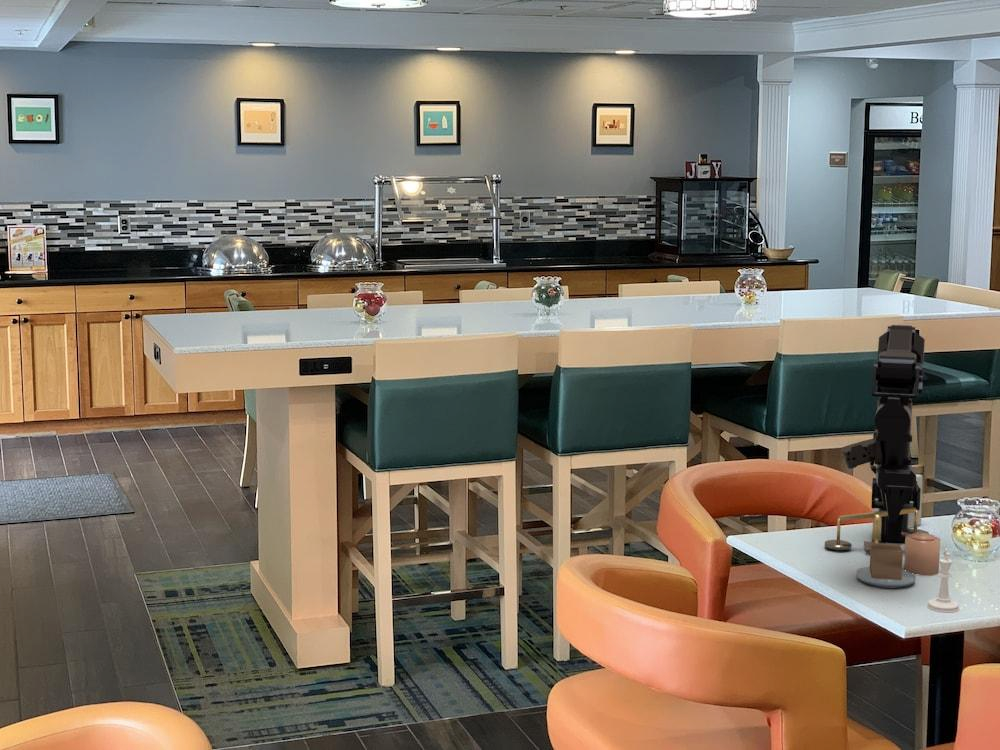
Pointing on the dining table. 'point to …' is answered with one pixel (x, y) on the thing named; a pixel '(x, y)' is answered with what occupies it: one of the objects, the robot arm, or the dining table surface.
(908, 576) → the disc
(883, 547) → the walnut block
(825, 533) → the dining table surface
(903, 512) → the balance
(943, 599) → the chess piece
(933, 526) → the dining table surface
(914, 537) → the terracotta lidded jar
